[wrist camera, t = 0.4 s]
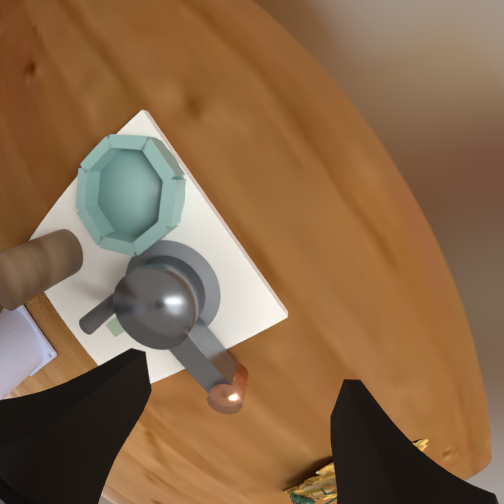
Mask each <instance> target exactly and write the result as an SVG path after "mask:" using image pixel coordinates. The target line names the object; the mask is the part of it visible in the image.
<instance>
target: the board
mask: <svg viewBox="0 0 504 504" xmlns="http://www.w3.org/2000/svg"><path fill="white" fill-rule="evenodd" d="M117 134H118V135H137V136H149V137H154V138H158V140H162V141H163V143H164V144H165V146H166V147H167V149H168V150H169V151H171V153H172V154H173V155H174V156H175V158H176V160H177V161H178V163H179V165H180V167H181V169H182V170H183V172H184V173H185V175H184V179H186V184H185V202H184V207H183V210H182V213H181V221H180V223H178V224H177V225H178V227H177V228H175V229H174V230H173V231H171V232H170V233H169V234H168V235H166V236H165V237H164V238H162V239H161V240H160V241H158V242H157V243H156V244H155V245H153V246H152V247H151V248H150V249H148V250H147V251H145V252H143V253H142V254H140V255H136V256H130V255H126V254H122V253H118V252H114V251H110V250H106V249H102V248H100V244H99V245H96V243H95V242H94V240H93V239H92V237H91V236H90V234H89V232H88V231H87V229H86V228H85V226H84V224H83V223H82V221H81V219H80V218H79V216H78V214H77V212H78V211H79V209H76V193H77V180H78V176H77V177H76V178H75V179H74V181H73V182H72V183H71V184H70V185H69V187H68V188H67V189H66V190H65V192H64V193H63V194H62V195H61V197H60V198H59V199H58V201H57V202H56V203H55V204H54V206H53V207H52V208H51V210H50V211H49V212H48V214H47V215H46V217H45V218H44V219H43V221H42V222H41V224H40V225H39V226H38V228H37V229H36V231H35V232H34V234H33V235H32V237H31V238H30V240H32V239H35V238H38V237H41V236H43V235H46V234H49V233H52V232H55V231H58V230H61V229H67V230H69V231H71V232H72V233H73V234H74V235H75V236H76V237H77V238H78V240H79V242H80V244H81V247H82V251H83V264H82V267H81V269H80V270H79V271H78V272H77V273H75V274H73V275H72V276H70V277H68V278H66V279H65V280H63V281H61V282H60V283H58V284H56V285H54V286H53V287H51V288H49V289H48V290H46V291H44V292H45V294H46V295H47V297H48V298H49V300H50V302H51V303H52V305H53V306H54V308H55V309H56V311H57V312H58V313H59V315H60V316H61V318H62V319H63V321H64V322H65V323H66V325H67V326H68V328H69V329H70V330H71V332H72V333H73V334H74V336H75V337H76V338H77V340H78V341H79V342H80V343H81V345H82V346H83V347H84V348H85V350H86V351H87V352H88V353H89V355H90V356H91V357H92V358H93V360H94V361H95V362H96V363H97V364H98V365H99V366H100V365H101V364H103V363H105V362H107V361H109V360H110V359H112V358H114V357H116V356H117V355H119V354H121V353H123V352H124V351H126V350H128V349H130V348H134V349H138V350H142V351H146V359H147V365H148V372H149V378H150V384H151V383H154V382H156V381H158V380H161V379H163V378H165V377H167V376H170V375H172V374H174V373H177V372H179V371H181V370H183V369H185V368H184V366H183V365H182V364H181V363H180V362H179V361H178V360H177V359H176V357H175V356H174V355H173V354H172V353H171V352H170V351H169V349H167V350H157V349H152V348H149V347H146V346H144V345H142V344H140V343H138V342H137V341H135V340H134V339H133V338H131V337H130V336H129V335H128V334H127V333H126V331H125V330H124V329H123V328H122V326H121V325H120V323H119V321H118V319H117V317H116V314H115V311H114V307H113V294H114V290H115V287H116V285H117V284H118V282H119V281H120V280H121V279H122V278H123V277H124V276H126V275H127V274H128V273H130V272H131V271H133V270H134V269H136V268H137V267H138V266H140V265H141V264H143V263H144V262H146V261H147V260H149V259H150V258H153V257H156V256H161V255H167V256H173V257H176V258H179V259H181V260H183V261H184V262H186V263H187V264H189V265H190V266H191V267H192V268H193V269H194V270H195V271H196V272H197V274H198V275H199V277H200V278H201V280H202V282H203V285H204V289H205V295H206V300H205V306H204V309H203V311H202V313H201V315H200V316H199V317H200V318H201V319H202V321H203V322H204V323H205V324H206V326H207V327H208V328H209V329H210V330H211V332H212V333H213V334H214V335H215V337H216V338H217V339H218V340H219V341H220V343H221V344H222V345H223V346H224V347H225V349H228V348H230V347H232V346H234V345H236V344H238V343H240V342H242V341H244V340H246V339H247V338H249V337H251V336H253V335H255V334H257V333H259V332H261V331H263V330H265V329H267V328H269V327H270V326H272V325H274V324H276V323H278V322H280V321H282V320H283V319H285V318H287V317H288V311H287V310H286V308H285V307H284V305H283V304H282V302H281V301H280V300H279V298H278V297H277V295H276V294H275V293H274V291H273V290H272V288H271V287H270V285H269V284H268V283H267V281H266V280H265V278H264V277H263V276H262V274H261V273H260V271H259V270H258V268H257V267H256V266H255V264H254V263H253V261H252V260H251V259H250V257H249V256H248V254H247V253H246V251H245V250H244V249H243V247H242V246H241V244H240V243H239V241H238V240H237V239H236V237H235V236H234V234H233V233H232V231H231V230H230V229H229V227H228V226H227V224H226V223H225V222H224V220H223V219H222V217H221V216H220V214H219V213H218V212H217V210H216V209H215V207H214V206H213V204H212V203H211V202H210V200H209V199H208V197H207V196H206V194H205V193H204V192H203V190H202V189H201V187H200V186H199V184H198V183H197V181H196V180H195V179H194V177H193V176H192V174H191V173H190V171H189V170H188V169H187V167H186V166H185V164H184V163H183V161H182V160H181V159H180V157H179V156H178V154H177V153H176V151H175V150H174V148H173V147H172V146H171V144H170V143H169V141H168V140H167V138H166V137H165V135H164V134H163V133H162V131H161V130H160V128H159V127H158V125H157V124H156V123H155V121H154V120H153V118H152V117H151V115H150V114H149V112H148V111H145V110H141V111H140V112H139V113H138V114H137V115H136V116H135V117H134V118H133V119H131V120H130V121H129V122H128V123H127V124H126V125H125V126H124V127H123V128H122V129H121V130H120V131H119V132H118V133H117ZM30 240H29V241H30Z"/></svg>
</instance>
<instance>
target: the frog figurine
mask: <svg viewBox="0 0 504 504" xmlns="http://www.w3.org/2000/svg"><path fill="white" fill-rule="evenodd" d="M427 441H428V440H427V439H426V440H424V439H422V440H419V441H417V442H416V443H413V442H412V443H413V444H414V445H415V446H416V447H417V448H418V449H420V450H421V451H423V450H424V448H426V447H427V446H428V445H426V444H425V443H427ZM316 474H319V476H317V477H311V478H309V479H308V480H306V481H304V482H303V484H301V485H297V486H293V487H291V488H289V489H287V490H285V491H284V492H285V494H289V493H290V494H291V495H290V498H291V499H292V501H293V504H294V502H296V503H295V504H297V503H298V504H314V503H315V501H314V500H313V499H312V498H311V497H307V496H308V495H310V494H312V496H313V497H320V496H326V497H324V498H323V499H324V500H326V499H328V498H333V499H332V500H330V501H329V502H327V503H325V504H329V503H330V502H332V501H333V500H335V499H336V498H337V487H336V478H335V470H334V463H333V462H332V463H330V464H329V465H326V466H325V467H323V468H321V469H320V470H319V471H317V472H316ZM314 476H315V475H314ZM295 494H296V495H295ZM302 495H303V496H302ZM305 495H307V496H305ZM334 497H335V498H334ZM315 499H318V500H319V498H315ZM292 501H291V502H292Z"/></svg>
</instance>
